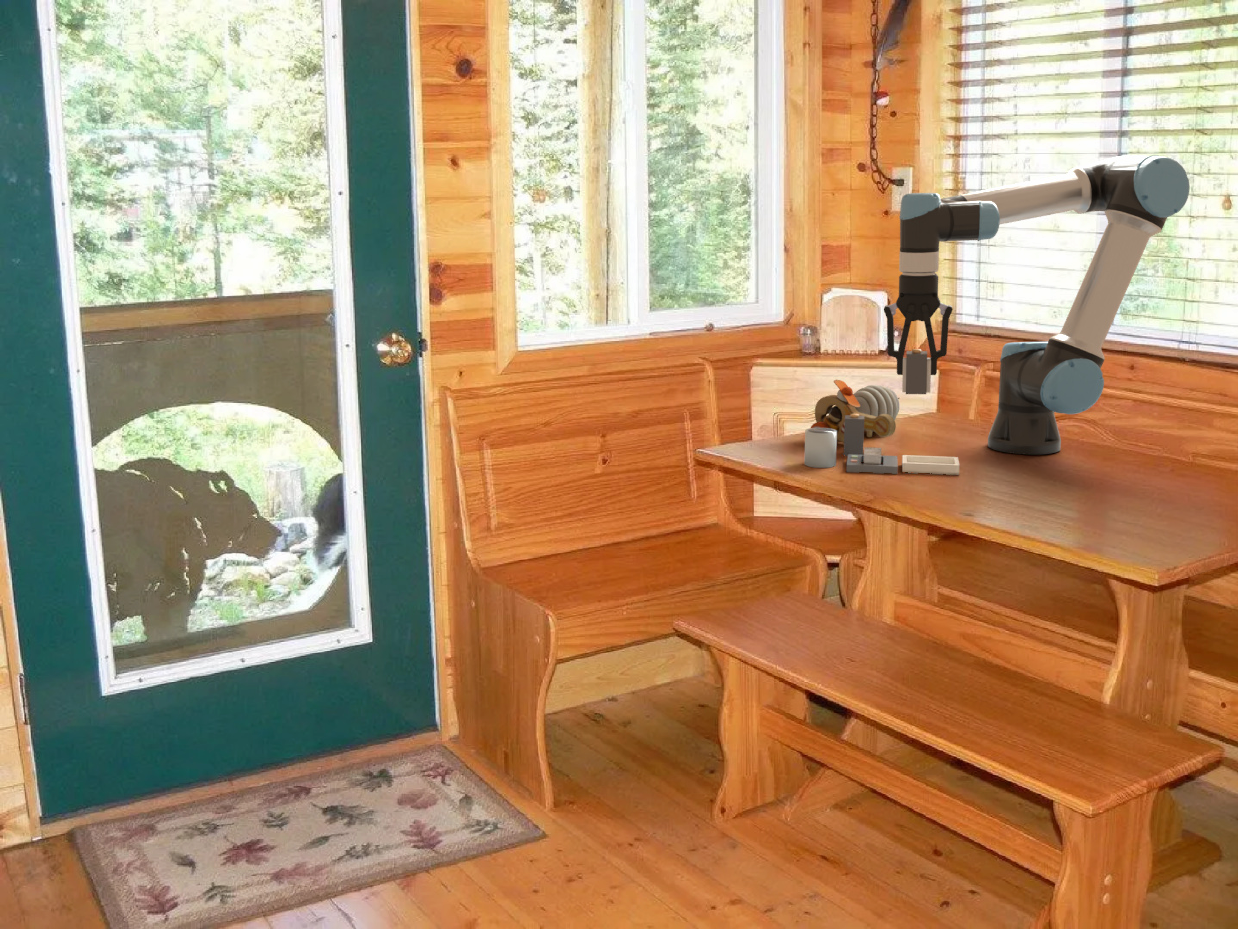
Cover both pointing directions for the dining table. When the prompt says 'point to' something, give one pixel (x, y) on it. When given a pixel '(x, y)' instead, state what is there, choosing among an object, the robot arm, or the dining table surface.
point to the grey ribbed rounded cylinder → (877, 402)
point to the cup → (820, 447)
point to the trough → (930, 464)
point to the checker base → (888, 465)
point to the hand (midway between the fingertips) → (916, 390)
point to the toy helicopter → (846, 406)
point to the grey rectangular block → (872, 456)
